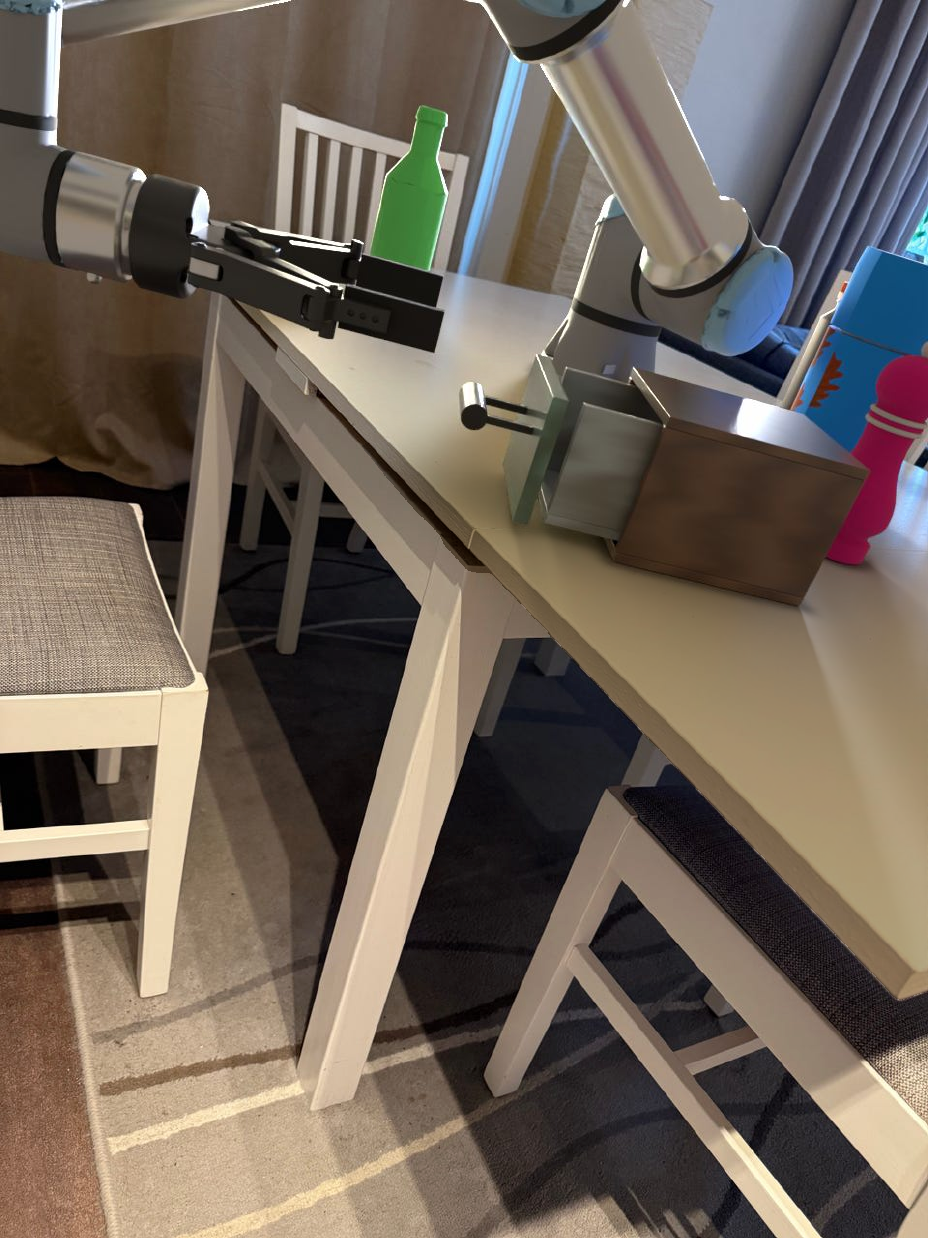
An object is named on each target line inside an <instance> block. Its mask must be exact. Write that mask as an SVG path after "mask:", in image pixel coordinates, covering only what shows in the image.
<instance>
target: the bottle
mask: <svg viewBox="0 0 928 1238" xmlns="http://www.w3.org/2000/svg"><path fill="white" fill-rule="evenodd" d="M415 119H416V121H415V125H414V131H413V135H412V139H411V145H410V149H409V150H408V152H406V154H404V155H403V157H402V158H401V159H400V160H399V161H398V162H397V163H396V164H394V166H393V167H392V168H391V169H390V170H389V171H388V172H387V173H386V174H385V177H384V182H383V187H382V190H381V196H380V200H379V205H378V211H377V215H376V221H375V224H374V230H373V234H372V239H371V243H370V244H371V245H370V250H369V255H373V256H376V257H380V258H384V259H387V260H391V261H394V262H398V263H402V264H405V265H409V266H412V267H416V268H420V269H423V270H427V271H430V272H431V267H432V263H433V259H434V254H435V251H436V247H437V246H436V245H437V242H438V237H439V234H440V229H441V226H442V221H443V216H444V212H445V209H446V204H447V200H448V195H449V191H448V189H447V185H446V183H445V178H444V176H443V173H442V169H441V166H440V163H439V160H438V157H439V154H440V153H439V152H440V148H441V144H442V140H443V135H444V131H445V128H446V127H448V114H447V113H446V111H443V110H440V109H436V108H435V107H434V108H433V107H430V106H426V105H420V106H419V107H418V109H417V112H416V114H415Z"/></svg>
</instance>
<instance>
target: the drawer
mask: <svg viewBox="0 0 928 1238" xmlns="http://www.w3.org/2000/svg"><path fill="white" fill-rule="evenodd" d="M530 369H531V370H530V373H529V376H528V379H527V383H526V386H525V388H524V393H523V396H522V399H521V402H520V403H516V402H512V401H510V400H509V401H508V400H505V399H501V398H497V397H494V396H489V395H486V394H485V391H484V388H483V387H482V385H481V384H479V383H478V382H473V381H470V382H466V383H465V384H463V385H462V386H461V387H460V389H459V392H458V398H459V399H458V400H459V410H460V421H461V424H462V425H463V427H464V428H466V429H467V430H470V431H480V430H481V429H483V428H484V427H485V426H486V425H490V426H494V427H497V428H501V429H506V430H509V431H511V435H510V437H509V441H508V444H507V448H506V450H505V454H504V457H503V461H502V471H503V475H504V482H505V487H506V492H507V498H508V504H509V509H510V515H511V520H512V523H513V524H517V525H522V526H526V527H528V526H529V523H530V521H531V518H532V515H533V511H534V509H535V506H536V503H537V500H538V501H539V507H540V510H541V514H542V517H543V521H544V524H546V525H551V526H555V527H559V528H563V529H568V530H572V531H576V532H580V533H584V534H589V535H593V536H596V537H601V538H603V539H605V538H608V539H612V540H616V541H618V540H619V537H620V535H621V532H622V530H623V527H624V524H625V522H626V519H627V517H628V514H629V512H630V509H631V507H632V504H633V501H634V499H635V496H636V494H637V491H638V489H639V486H640V484H641V481H642V478H643V476H644V473H645V471H646V468H647V466H648V463H649V461H650V458H651V455H652V453H653V450H654V448H655V445H656V443H657V440H658V438H659V435H660V432H661V430H662V427H663V425H664V423H663V422H662V421H661V419H660V418H659V416H658V415H657V414H656V412H655V411H654V409H653V408H652V407H651V405H650V404H649V402H648V401H647V399H646V398H645V397H644V395H643V394H642V392H641V391H640V390H639V388H638V387H637V386H636V385H632V384H629V383H625V382H621V381H618V380H614V379H610V378H607V377H603V376H599V375H596V374H592V373H588V372H585V371H581V370H577V369H574V368H570V367H565V370H564V373H563V376H562V379H561V382H560V380H559V377H558V375H557V373H556V371H555V368H554V366H553V364H552V362H551V359H550V358H549V357H546V356H543V355H542V354H539V353H536V354H535V357H534V360H533V363H532V366H531V368H530ZM487 406H489V407H493V408H497V409H500V410H504V411H508V412H512V413H515V414H517V415H516V417H515V420H512V419H508V418H504V417H500V416H497V415H493V414H490V413H489V414H488V408H487Z"/></svg>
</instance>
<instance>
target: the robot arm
mask: <svg viewBox="0 0 928 1238" xmlns="http://www.w3.org/2000/svg"><path fill="white" fill-rule="evenodd" d="M288 1H290V0H0V252H1V253H5V254H10V255H13V256H18V257H21V258H26V259H30V260H34V261H38V262H42V263H46V264H51V265H54V266H58V267H61V268H64V269H69V270H74V271H76V272H79V271H81V272H84V273H86V280H87V281H88V282H89V283H91V284H93V285H99V284H100V283H102V279H107V280H110V281H114V282H118V283H122V284H126V283H128V282H129V281H131V280H133V282H134V283H135V284H136V285H137V287H138V288H140V289H142V290H144V291H145V290H146V291H150V292H153V293H158V294H162V295H166V296H168V297H171V298H172V297H173V298H176V299H180V300H181V299H182V300H183V299H184V300H185V299H188V298H190V297H191V296H192V295H193V294H194V293H195V291H196V289H203V290H207V291H211V292H212V293H213V292H214V293H217V294H220V295H223V296H225V297H227V298H229V299H233V300H235V301H237V302H240V303H242V304H245V305H247V306H250V307H252V308H255V309H257V310H260V311H262V312H265V313H268V314H270V315H273V316H276V317H278V318H280V319H283V320H285V321H288V322H290V323H292V324H295V325H298V326H301V327H303V328H306V329H308V330H309V331H311V332H318V333H317V337H318V338H321V339H324V340H334V339H335V335H336V330H337V329H340V330H344V331H349V332H352V333H356V334H359V335H363V336H367V337H371V338H374V339H378V340H383V341H387V342H388V343H389V342H390V343H394V344H396V345H400V346H404V347H409V348H413V349H417V350H420V351H424V352H428V353H432V354H435V353H436V348H437V345H438V341H439V336H440V333H441V329H442V324H443V320H444V316H445V311H446V310H445V309H442V308H438V307H437V306H438V302H439V297H440V293H441V289H442V285H443V281H444V274H441V273H437V272H433V271H431V270H430V271H427V270H423V269H420V268H416V267H412V266H409V265H405V264H402V263H398V262H394V261H391V260H387V259H384V258H380V257H376V256H373V255H369V254H370V253H369V254H368V253H366V252H363V247H364V242H363V241H360V240H358V239H353V238H351V239H350V243H348V242H345V243H342V242H337V241H331V240H326V239H321V238H316V237H311V236H306V235H301V234H296V233H291V232H286V231H281V230H275V229H271V228H266V227H261V226H257V225H254V224H249V223H247V222H244V221H242V220H238V219H236V220H230V225H225V226H221V225H214V224H212V223H211V220H210V218H209V213H210V203H209V199H208V195H207V193H206V191H205V190H204V189H203V188H202V187H201V186H199V185H197V184H194V183H190V182H187V181H183V180H180V179H176V178H173V177H169V176H165V175H162V174H158V173H153V174H151V175H149V176H147V177H146V175H145V173H144V172H143V170H142V169H141V168H139V167H137V166H134V165H130V164H126V163H123V162H120V161H115V160H112V159H110V158H109V159H108V158H105V157H101V156H98V155H94V154H91V153H87V152H83V151H75V150H72V149H67V148H65V147H62V146H60V145H58V144H57V129H58V102H59V101H58V100H59V82H60V81H59V79H60V62H61V61H60V59H61V48H64V47H68V46H73V45H78V44H83V43H89V42H94V41H98V40H102V39H108V38H113V37H118V36H122V35H127V34H132V33H137V32H142V31H148V30H151V29H156V28H157V29H158V28H161V27H166V26H171V25H177V24H181V23H187V22H190V21H191V22H192V21H196V20H201V19H205V18H212V17H214V16H221V15H225V14H230V13H234V12H240V11H244V10H249V9H254V8H260V7H265V6H269V5H273V4H279V3H284V2H288ZM464 1H467V2H471V3H479V4H481V5H482V7H484V9H485V10H486V12H487V13H488V15H489V17H490V19H491V20H492V22H493V24H494V25H495V27H496V29H497V30H498V32H499V34H500V36H501V37H502V39H503V41H504V42H505V44H506V45H507V48H508V50H509V51H510V52H511V54H512V55H513V57H514V58H515V59H516V60H517V61H518V62H520V63H522V64H527V65H537V66H538V65H539V66H541V68H542V70H543V71H544V73H545V75H546V77H547V78H548V80H549V82H550V83H551V86H552V87H553V89H554V91H555V92H556V94H557V96H558V98H559V100H560V101H561V103H562V104H563V107H564V108H565V110H566V112H567V114H568V115H569V117H570V118H571V121H572V122H573V124H574V125H575V127H576V129H577V131H578V133H579V134H580V136H581V138H582V140H583V142H584V143H585V145H586V147H587V148H588V150H589V152H590V153H591V155H592V157H593V159H594V160H595V162H596V165H597V166H598V168H599V169H600V172H601V173H602V175H603V177H604V178H605V180H606V182H607V183H608V185H609V187H610V189H611V190H612V192H613V193H612V194H611V195H610V196H608V197H607V199H606V200H605V202H604V204H603V207H602V210H601V212H600V214H599V218H598V219H597V221H596V222H595V224H594V229H593V233H592V235H591V239H590V243H589V246H588V248H587V249H588V250H587V252H586V256H585V259H584V263H583V266H582V269H581V271H580V275H579V279H578V282H577V284H576V289H575V292H574V295H573V299H572V302H571V305H570V308H569V311H568V314H567V316H566V317H565V319H564V320H563V322H562V323H561V325H560V326H559V328H558V329H557V331H555V334H554V335H553V336H552V338H551V339H550V340H549V342H548V343H547V345H546V347H545V348H544V349H543V351H542V353H541V355H543V356H546V357H549V358H550V359H551V362H552V364H553V366H554V368H555V371H556V373H557V375H558V377H559V380H560V382H561V379H562V376H563V373H564V370H565V367H570V368H574V369H577V370H581V371H585V372H588V373H592V374H596V375H599V376H603V377H607V378H610V379H614V380H618V381H621V382H625V383H628V380H629V378H630V375H631V372H632V369H633V367H635V368H638V369H642V370H646V371H649V372H653V373H656V357H657V356H656V355H657V345H658V340H659V338H660V334H661V332H662V329H663V328H664V329H666V330H667V331H670V332H673V333H674V334H677V335H679V336H680V337H682V338H684V339H685V340H686V339H687V340H688V341H690V342H693V343H695V344H697V345H699V346H701V347H702V348H703V349H704V350H705V351H707V352H715V353H717V354H719V355H722V356H726V357H733V356H734V357H735V356H737V355H743V354H744V353H747V352H749V351H751V350H753V349H754V348H756V347H757V346H758V345H759V344H760V343H761V342H762V341H764V339H766V338H767V336H768V335H769V334H770V333H771V332H772V330H773V329H774V328H775V327H776V325H777V324H778V323H779V320H780V319H781V317H782V315H783V314H784V311H785V309H786V306H787V303H788V302H789V299H790V296H791V293H792V290H793V285H794V284H793V283H794V268H793V264H792V261H791V259H790V257H789V256H788V255H787V254H786V253H785V252H784V251H781V250H780V248H778V247H777V246H775V245H766V244H764V243H763V242H761V240H760V239H759V237H758V236H757V234H756V232H755V229H754V227H753V225H752V222H751V220H750V218H749V215H748V213H747V212H746V210H745V208H744V206H743V205H742V204H741V203H740V202H739V201H737V200H736V199H734V198H731V197H728V196H721V194H720V191H719V189H718V187H717V185H716V182H715V179H714V178H713V176H712V174H711V171H710V170H709V167H708V165H707V162H706V161H705V158H704V156H703V153H702V152H701V150H700V147H699V145H698V142H697V140H696V138H695V136H694V134H693V132H692V129H691V127H690V125H689V123H688V121H687V119H686V116H685V114H684V112H683V110H682V108H681V105H680V103H679V101H678V99H677V96H676V95H675V92H674V90H673V88H672V85H671V83H670V81H669V79H668V77H667V74H666V71H665V70H664V67H663V66H662V63H661V61H660V59H659V56H658V54H657V52H656V50H655V48H654V45H653V43H652V40H651V39H650V36H649V35H648V33H647V30H646V27H645V26H644V23H643V21H642V19H641V17H640V15H639V13H638V10H637V7H636V6H635V4H634V1H633V0H464ZM339 285H345V287H344V288H343V287H342V286H339Z"/></svg>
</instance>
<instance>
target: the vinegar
mask: <svg viewBox="0 0 928 1238" xmlns="http://www.w3.org/2000/svg"><path fill="white" fill-rule="evenodd" d="M848 283H849V281H844V282H843V284H842V286H841V288H840V290H839V293H838V295H837V299H836V300H835V302H837V303H836V305H835V307H834V309H832V310H830V311H828V312H826V313H823V314H822V315H821V316H820V317H819V320H818V322H817V324H816V326H815V329H814V330H813V333H812V335H811V338H810V340H809V341H808V344H807V347H806V349H805V351H804V354H803V355H802V358H801V360H800V362H799V364H798V366H797V369H796V371H795V373H794V375H793V377H792V380H791V382H790V384H789V386H788V389H787V391H786V393H785V396H784V398H783V400H782V402H781V404H780V406H779V408H783V409H786V410H790V409H791V407H792V405H793V403H794V400H795V398H796V396H797V394H798V392H799V389H800V387H801V385H802V383H803V381H804V379H805V376H806V374H807V372H808V370H809V368H810V366H811V363H812V361H813V359H814V357H815V355H816V352H817V350H818V348H819V346H820V344H821V342H822V339H823V337H824V335H825V333H826V331H827V328H828V326H829V325H832V324H831V323H830V322H831V320H832V318H833V315H834V313H835V311H836V309H837V307H838V305H839V302H840V300H841V298H842V296H843V294H844V291H845V289H846V287H847V285H848Z"/></svg>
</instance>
